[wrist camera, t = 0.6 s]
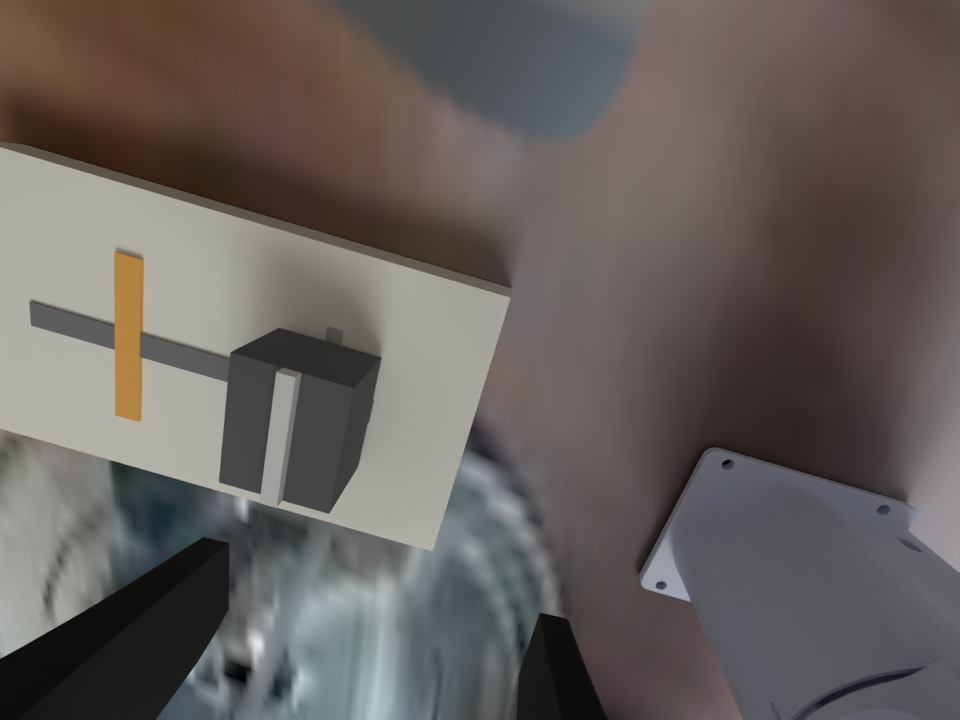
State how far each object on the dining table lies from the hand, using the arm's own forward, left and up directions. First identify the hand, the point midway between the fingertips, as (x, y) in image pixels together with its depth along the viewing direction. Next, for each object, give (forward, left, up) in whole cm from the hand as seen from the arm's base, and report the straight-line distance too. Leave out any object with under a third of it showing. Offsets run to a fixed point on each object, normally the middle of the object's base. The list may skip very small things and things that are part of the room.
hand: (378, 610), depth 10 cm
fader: (+5, 0, -8) cm, 9 cm away
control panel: (+9, 0, -10) cm, 14 cm away
